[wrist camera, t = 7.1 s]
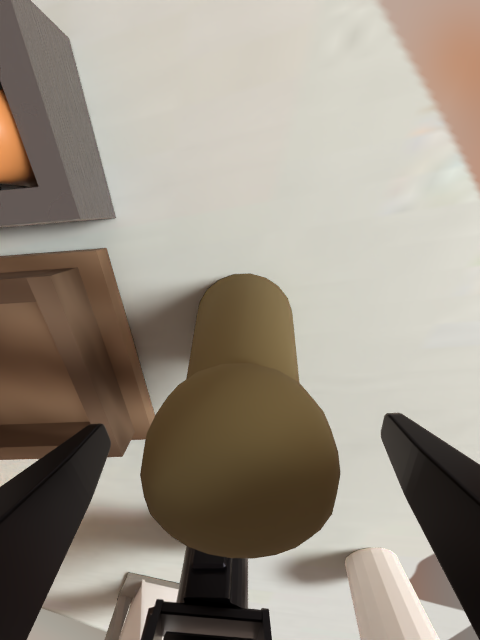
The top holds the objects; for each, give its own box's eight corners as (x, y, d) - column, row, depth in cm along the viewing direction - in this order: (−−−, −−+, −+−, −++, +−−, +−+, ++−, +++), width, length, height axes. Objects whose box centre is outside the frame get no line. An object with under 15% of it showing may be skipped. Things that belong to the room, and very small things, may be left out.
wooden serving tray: (158, 428, 19) (143, 464, 16) (-17, 434, 20) (-59, 468, 17) (106, 248, 14) (70, 256, 11) (-134, 266, 14) (-224, 278, 12)
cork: (184, 341, 16) (75, 559, 6) (217, 256, 14) (132, 375, 4) (266, 373, 17) (293, 611, 7) (310, 297, 14) (454, 490, 4)
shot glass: (371, 581, 28) (407, 688, 22) (326, 564, 27) (350, 672, 21) (417, 557, 26) (472, 669, 20) (369, 537, 25) (412, 650, 18)
